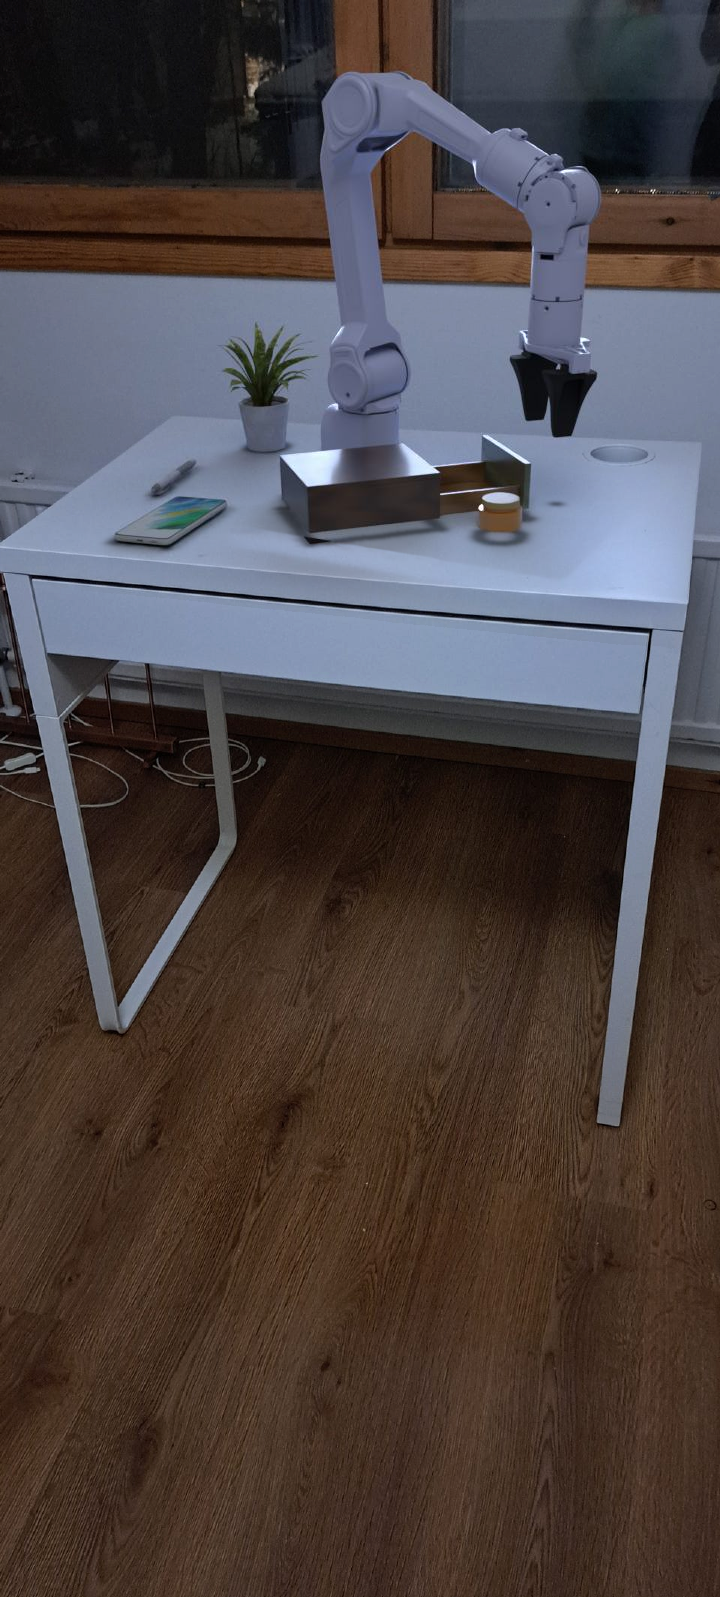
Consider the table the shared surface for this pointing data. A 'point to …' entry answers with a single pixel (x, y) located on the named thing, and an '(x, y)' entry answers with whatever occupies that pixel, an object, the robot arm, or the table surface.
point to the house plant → (264, 391)
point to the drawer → (484, 479)
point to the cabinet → (359, 488)
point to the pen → (172, 477)
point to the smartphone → (171, 520)
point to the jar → (500, 512)
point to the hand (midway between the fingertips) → (547, 428)
